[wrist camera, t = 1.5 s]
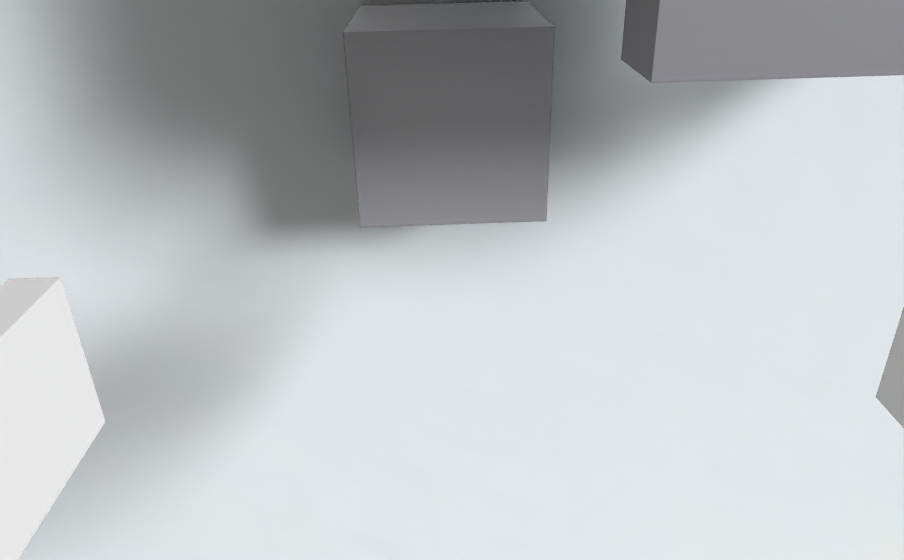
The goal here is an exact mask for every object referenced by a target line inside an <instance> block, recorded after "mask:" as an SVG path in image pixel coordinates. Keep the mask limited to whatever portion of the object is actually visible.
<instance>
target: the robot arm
mask: <svg viewBox="0 0 904 560" xmlns="http://www.w3.org/2000/svg"><path fill="white" fill-rule="evenodd" d="M876 398H877V399H878V400H879V401H880V402H881V403H882V404H883V406H884V407H885V408H886V409H887V410H888V411H889V412H890V413H891V414H892V416H893V417H894V418H895V419H896V420H897V421H898V422H899V423H900V425H901V426H902V427H903V428H904V308H903V311H902V314H901V318H900V321H899V324H898V327H897V330H896V334H895V337H894V340H893V343H892V346H891V350H890V353H889V356H888V359H887V362H886V366H885V369H884V372H883V375H882V378H881V382H880V385H879V388H878V391H877V394H876ZM104 423H105V418H104V415H103V412H102V409H101V406H100V402H99V399H98V396H97V393H96V390H95V386H94V383H93V380H92V377H91V373H90V370H89V367H88V364H87V361H86V357H85V354H84V351H83V348H82V345H81V341H80V338H79V335H78V332H77V329H76V325H75V322H74V319H73V316H72V313H71V309H70V306H69V303H68V300H67V297H66V293H65V290H64V287H63V284H62V281H61V277H52V278H19V279H9V280H8V281H7V282H5V283H4V284H3V285H2V286H1V287H0V560H18V559H19V557H20V556H21V554H22V553H23V551H24V549H25V548H26V546H27V545H28V543H29V542H30V540H31V538H32V537H33V535H34V534H35V532H36V530H37V529H38V527H39V526H40V524H41V523H42V521H43V519H44V518H45V516H46V515H47V513H48V512H49V510H50V508H51V507H52V505H53V504H54V502H55V501H56V499H57V497H58V496H59V494H60V493H61V491H62V489H63V488H64V486H65V485H66V483H67V482H68V480H69V478H70V477H71V475H72V474H73V472H74V471H75V469H76V467H77V466H78V464H79V463H80V461H81V460H82V458H83V456H84V455H85V453H86V452H87V450H88V448H89V447H90V445H91V444H92V442H93V441H94V439H95V437H96V436H97V434H98V433H99V431H100V430H101V428H102V426H103V425H104Z"/></svg>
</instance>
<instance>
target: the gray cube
mask: <svg viewBox="0 0 904 560" xmlns="http://www.w3.org/2000/svg"><path fill="white" fill-rule="evenodd" d="M343 38H344V49H345V60H346V71H347V83H348V94H349V105H350V116H351V128H352V139H353V150H354V161H355V173H356V184H357V195H358V206H359V218H360V227H385V226H414V225H444V224H473V223H503V222H532V221H546V215H547V191H548V167H549V144H550V120H551V96H552V73H553V49H554V25H553V24H552V23H551V22H549V21H548V20H547V19H546V18H545V17H544V16H543V15H542V14H541V13H540V12H539V11H538V10H537V9H536V8H534V7H533V6H532V5H531V4H530V3H529V2H528V1H511V2H475V3H440V4H404V5H368V6H359V8H358V10H357V11H356V13H355V14H354V16H353V17H352V19H351V21H350V22H349V24H348V25H347V27H346V28H345V30H344V31H343Z"/></svg>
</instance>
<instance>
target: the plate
mask: <svg viewBox="0 0 904 560" xmlns="http://www.w3.org/2000/svg"><path fill="white" fill-rule="evenodd" d="M621 60H623V61H624V62H625V63H627V64H628V65H629V66H631V67H632V68H633V69H634V70H636V71H637V72H638V73H640V74H641V75H642V76H643V77H645V78H646V79H647V80H649V81H650V82H651V83H656V82H689V81H722V80H755V79H788V78H822V77H855V76H888V75H904V0H626V9H625V21H624V33H623V45H622V57H621Z"/></svg>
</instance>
